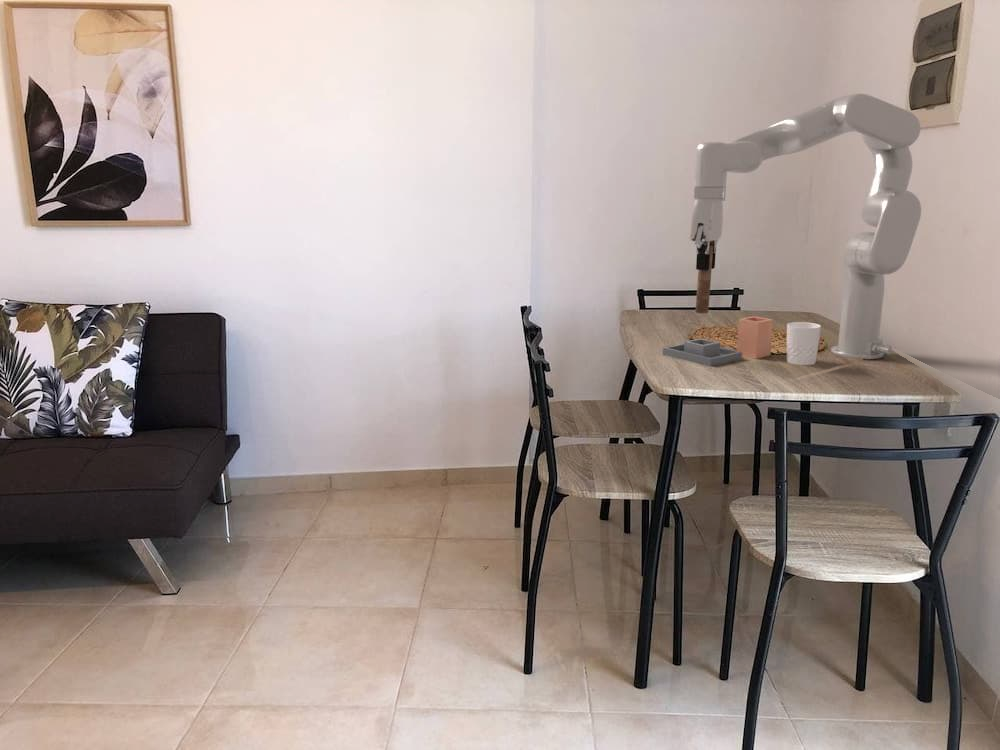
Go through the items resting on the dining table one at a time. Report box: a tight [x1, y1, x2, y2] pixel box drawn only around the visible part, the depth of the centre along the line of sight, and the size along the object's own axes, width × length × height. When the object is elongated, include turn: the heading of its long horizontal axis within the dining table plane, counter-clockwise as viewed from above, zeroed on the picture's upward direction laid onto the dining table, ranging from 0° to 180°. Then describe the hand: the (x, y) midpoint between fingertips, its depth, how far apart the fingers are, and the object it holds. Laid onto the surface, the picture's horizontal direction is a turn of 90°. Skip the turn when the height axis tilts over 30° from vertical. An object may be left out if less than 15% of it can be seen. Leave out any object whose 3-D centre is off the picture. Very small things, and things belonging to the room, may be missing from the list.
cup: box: [736, 316, 774, 359], centre depth 204 cm, size 6×6×10 cm
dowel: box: [695, 245, 713, 314], centre depth 199 cm, size 3×3×17 cm
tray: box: [662, 337, 743, 367], centre depth 203 cm, size 16×12×4 cm
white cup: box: [785, 321, 822, 366], centre depth 196 cm, size 8×8×10 cm
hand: (705, 268), depth 198 cm, fingers closed on dowel, 3 cm apart
